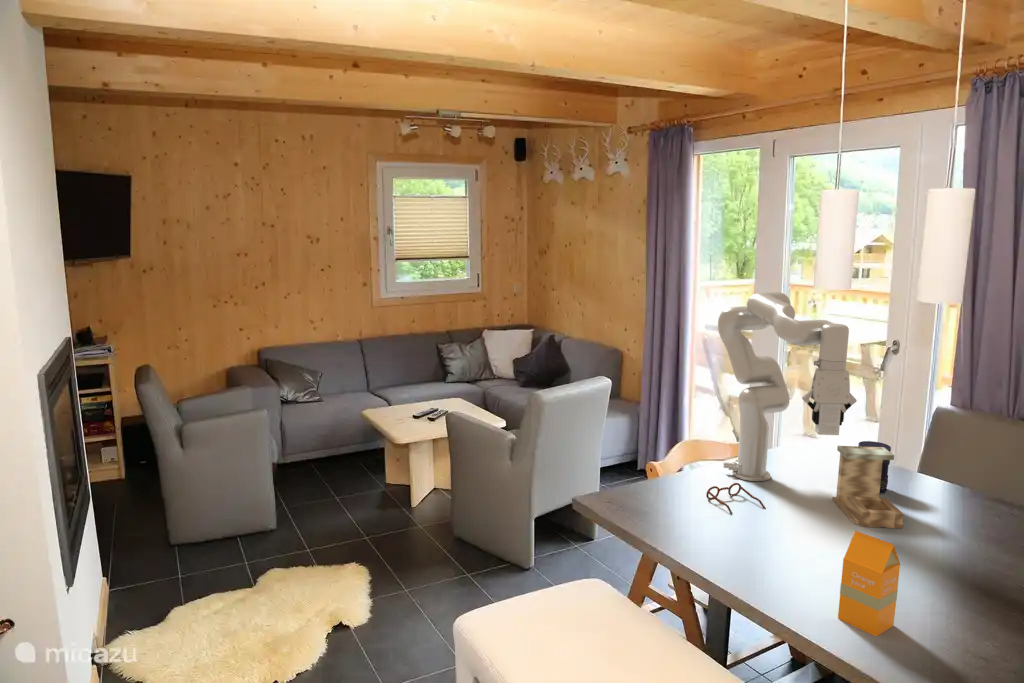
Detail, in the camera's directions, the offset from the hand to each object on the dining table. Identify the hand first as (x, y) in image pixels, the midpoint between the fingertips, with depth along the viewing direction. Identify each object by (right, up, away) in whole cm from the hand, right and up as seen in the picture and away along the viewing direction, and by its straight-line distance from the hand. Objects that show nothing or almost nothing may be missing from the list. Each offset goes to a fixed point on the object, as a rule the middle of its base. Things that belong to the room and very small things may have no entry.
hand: (827, 423), depth 219 cm
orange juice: (-16, -38, -58) cm, 71 cm away
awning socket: (+13, -28, +2) cm, 31 cm away
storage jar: (+24, -25, +23) cm, 41 cm away
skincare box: (0, -3, 0) cm, 3 cm away
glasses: (-25, -27, +8) cm, 38 cm away
